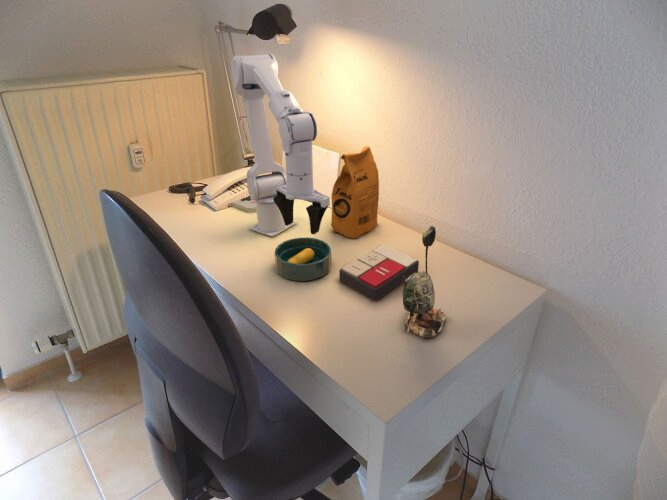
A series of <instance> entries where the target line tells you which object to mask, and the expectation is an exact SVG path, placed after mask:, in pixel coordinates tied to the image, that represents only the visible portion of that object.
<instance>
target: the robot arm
mask: <svg viewBox="0 0 667 500" xmlns="http://www.w3.org/2000/svg"><path fill="white" fill-rule="evenodd" d="M230 65H231V67H230V68H231V70H230V71H231V77H232V82H233V87H234V90H235V94H236V95H239V96H241V97H242V99H243V103H244V108H245V113H246V119H247V124H248V129H249V135H250V139H251V146H252V150H253V157H254V163H253V165H252V166H251V167H250V168H249V169H248V170H247V171H246V187H247V193H248V194H249V195H250V197H251V199H253V200H254V201H256V210H257V211H256V218H257V219H256V220H257V224H256V225H253V226H252V227H250V228H251V230H252V231H254V232H257V233H260V234H263V235H266V236H269V237H271V238H273V237H275V236H277V235H279V234H281V233H282V232H284V231H286V230H287V229H289V228H291V227H293V226H294V225H295V222H294V204H295V200H298V201H299V200H300V201H304V202H308V203H311V204H310V205H308V206H307V207H305V210H306V212H307V215H308V219H309V231H310V234H311V235H316V234H317V233H319V231H320V227H321V223H322V220H323V217H324V215H325V212H326V211H327V209H328V208H329V206H330V204H331V203H330V202H331V197H330V196H329V195H326V194H323V193H322V192H320V191H318V190H316V189H315V188H314V170H313V169H314V167H313V166H314V163H313V162H314V161H313V141H315V140H316V139H317V136H318V125H317V121H316V118H315V116H314V114H313V113H312V112H311V111H307V110H303V109H302V107H301V106H300V104H299V102H298V101H297V99H296V98H295V97H294V95H293V93H292V92H290V91H289V90H288V89H287V90H286V89H284V88H283V85H282V84H281V81H280V79H279V64H278V60H277V59H276V57H275V56H274V54H273V53H267V54H250V55H249V54H248V55H234V56H233V58H232V59H231V64H230ZM265 95H266V97H267V98H268V102H267V103H268V109H269V110H270V112H271V114H272V116H273V117H274V119H275V120H276V122H277V124H278V132H279V133H278V134H279V137H280V140H281V148H282V151H283V152H284V158H285V167H284V166H283V165H282V164H279V163H278V162H276V161H275V159H274V154H273V147H272V142H271V135H270V130H269V129H270V128H269V124H268V118H267V111H266V105H265V99H264V98H265Z"/></svg>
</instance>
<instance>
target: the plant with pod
mask: <svg viewBox="0 0 667 500" xmlns="http://www.w3.org/2000/svg"><path fill="white" fill-rule="evenodd" d="M436 235H437V231H436V227H435V226H433V225H429V227H427V228H426V229H425V230H424V231H423V233H422V236H421V241H422V244H423V247H425V256H424V257H425V258H424V259H425V266H424V267H425V270H424V271H420V272H419V271H418V273H414V274H412V275H410V276H409V277H408V278H407V279H406V280H405V281H404V282H403V288H402V306H403V309H404V310H405V311H406V312H407V313H406V314H405V320H403V321H404V325H403V327H405V329H406V333H408V334H409V333H410V332H411V333H413V334H416V336H419V337H421V338H426V339H427V338H429V339H431V338H434V337H435V336H436V335H437V334H439V333H441V331H442V330H443V326H444V323H446V319H447V316H446V314H445V313H444V311H441V310H442V308H439V309H438V308H436V307H434V305H435V300H436V293H435V287H434V283H433V279H432V277H431V275H430V274H429V273H428V251H429V247H432V245H433V244H434V243H435V240H436ZM403 277H405V276H403Z"/></svg>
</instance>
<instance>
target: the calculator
mask: <svg viewBox="0 0 667 500" xmlns="http://www.w3.org/2000/svg"><path fill="white" fill-rule="evenodd" d="M419 265H420V261H419V260H418V259H416V258H414V257H411V256H409V255H407V254H404V253H402V252H400V251H399V250H396V249H394V248H392V247H389V246H387V245H385V244H381V245H380V246H378V247H376V248H374V249H372V250H370V251H368V252H367V253H365V254H363V255H362V256H360V257H358V258H357V259H355V260H352V261H351V262H349V263H347V264H346V265H344V266H343V267H341V268H340V269H339V270H338V271H339V272H338V273H339V282H341V283H343V284H344V285H346V286H348V287H349V288H351V289H353V290H354V291H357V292H358V293H360V294H362V295H363V296H365V297H366V298H367V297H368V298H369V299H371V300H373V302H376V301H378V300H380V299H381V298H383V297H384V296H386V295H387V294H388V293H390V292H391V291H393V290H395V289H396V288H397V287H398V286H400V285H402V284H404V282H405V280H406V279H407V278H408V277H409V276H410V275H412V274H414V273H419V268H420V267H419ZM403 276H405V277H403Z"/></svg>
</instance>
